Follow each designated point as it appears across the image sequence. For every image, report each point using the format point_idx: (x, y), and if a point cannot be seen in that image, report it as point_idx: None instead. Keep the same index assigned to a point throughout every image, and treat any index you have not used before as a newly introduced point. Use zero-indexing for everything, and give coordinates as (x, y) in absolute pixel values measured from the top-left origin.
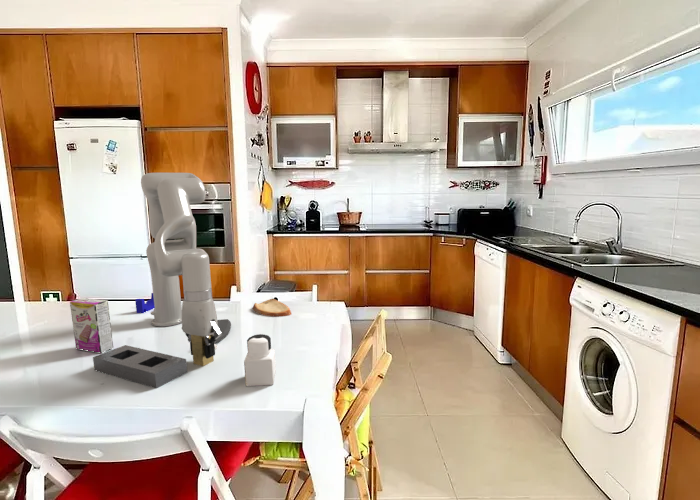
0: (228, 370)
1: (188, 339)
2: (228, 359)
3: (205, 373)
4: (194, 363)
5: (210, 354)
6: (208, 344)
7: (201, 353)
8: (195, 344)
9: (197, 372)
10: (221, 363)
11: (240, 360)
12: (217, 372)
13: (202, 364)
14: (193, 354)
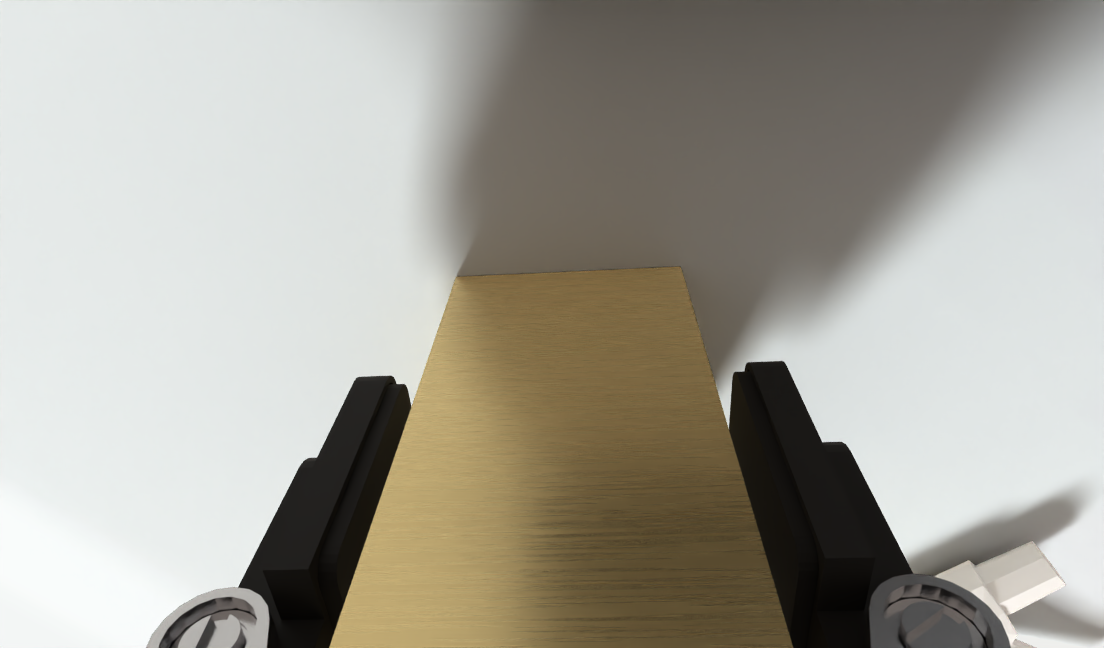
0: (14, 335)
1: (986, 633)
2: None
3: (175, 104)
4: (658, 273)
5: (313, 458)
6: (215, 622)
7: (441, 400)
8: (608, 530)
9: (325, 65)
10: (315, 441)
11: (199, 577)
12: (64, 221)
13: (472, 288)
14: (683, 356)
